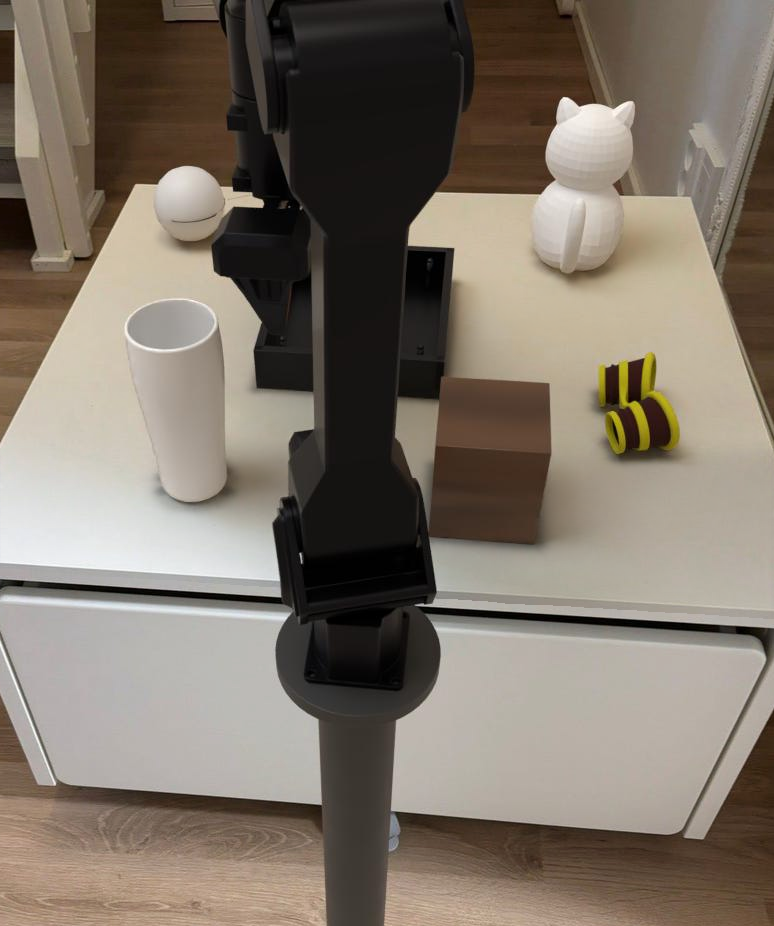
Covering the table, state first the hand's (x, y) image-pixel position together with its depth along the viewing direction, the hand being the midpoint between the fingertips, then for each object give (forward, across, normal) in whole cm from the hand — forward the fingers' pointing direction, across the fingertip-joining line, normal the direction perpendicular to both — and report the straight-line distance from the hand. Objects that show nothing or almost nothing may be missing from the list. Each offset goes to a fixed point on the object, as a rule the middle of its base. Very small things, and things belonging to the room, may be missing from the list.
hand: (287, 298), depth 77 cm
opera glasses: (+13, +4, -28) cm, 31 cm away
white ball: (+13, +31, +14) cm, 36 cm away
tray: (+13, +15, -4) cm, 20 cm away
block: (+13, -7, -16) cm, 22 cm away
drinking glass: (+13, -7, +7) cm, 17 cm away
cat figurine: (+13, +30, -24) cm, 41 cm away
